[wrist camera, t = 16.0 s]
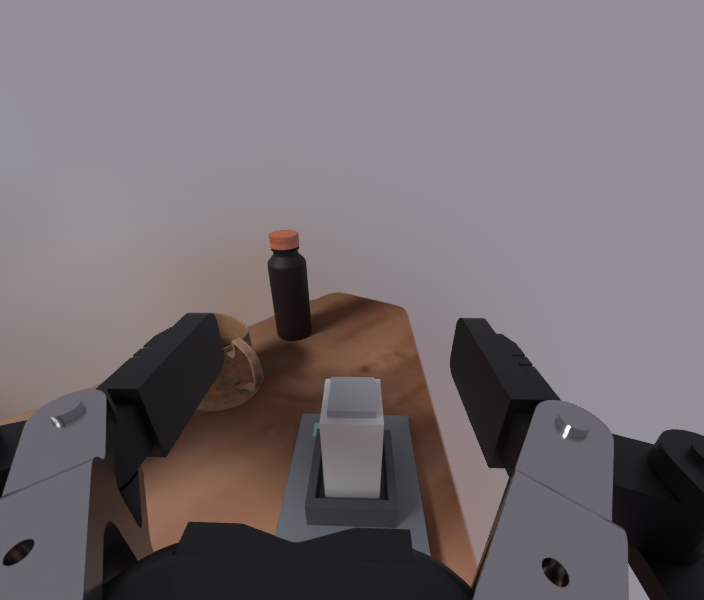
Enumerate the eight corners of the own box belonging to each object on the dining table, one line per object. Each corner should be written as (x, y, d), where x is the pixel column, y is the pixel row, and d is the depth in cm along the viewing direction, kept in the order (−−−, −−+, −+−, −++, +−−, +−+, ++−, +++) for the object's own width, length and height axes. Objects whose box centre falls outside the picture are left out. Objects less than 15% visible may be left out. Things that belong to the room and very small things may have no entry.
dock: (435, 605, 24) (442, 580, 22) (265, 598, 25) (256, 573, 23) (406, 423, 40) (409, 398, 38) (303, 421, 41) (300, 396, 39)
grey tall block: (326, 508, 30) (318, 416, 24) (330, 459, 34) (325, 372, 28) (378, 509, 30) (384, 417, 24) (376, 460, 34) (380, 373, 28)
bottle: (270, 335, 59) (254, 235, 50) (292, 319, 64) (282, 226, 55) (296, 345, 56) (285, 241, 47) (318, 328, 61) (311, 231, 52)
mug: (227, 454, 37) (204, 379, 31) (173, 384, 47) (149, 319, 42) (302, 401, 44) (294, 333, 39) (241, 351, 55) (228, 292, 49)
